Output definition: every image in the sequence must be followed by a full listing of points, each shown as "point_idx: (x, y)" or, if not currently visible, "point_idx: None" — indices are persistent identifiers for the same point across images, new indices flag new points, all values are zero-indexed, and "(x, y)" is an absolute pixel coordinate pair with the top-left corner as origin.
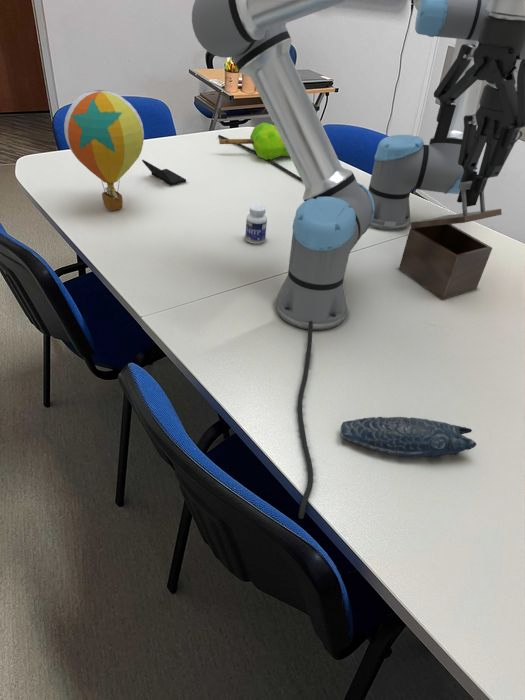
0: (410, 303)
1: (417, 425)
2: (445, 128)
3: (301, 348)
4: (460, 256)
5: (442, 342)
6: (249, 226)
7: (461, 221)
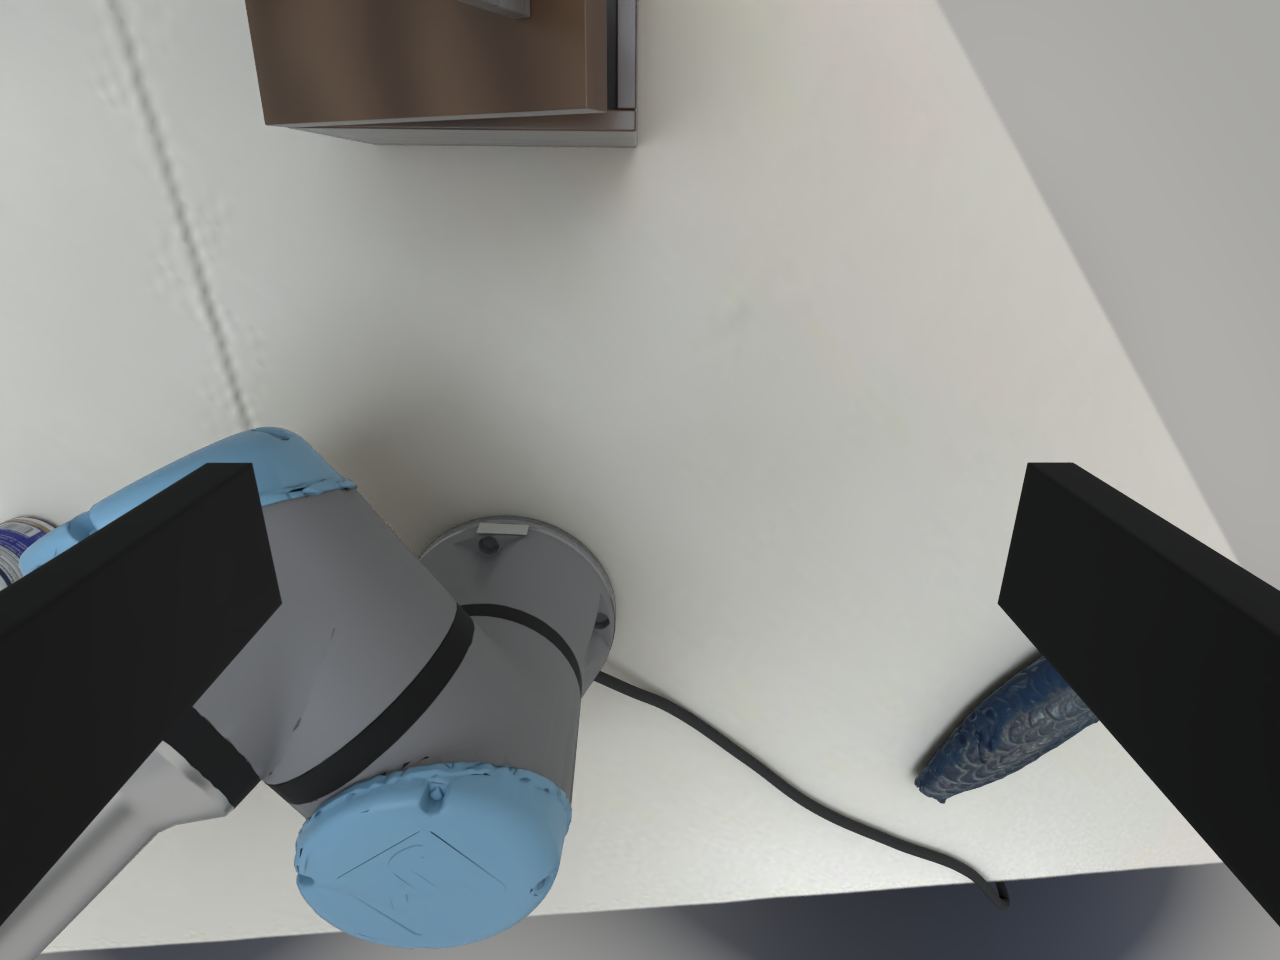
0: (605, 290)
1: (1057, 728)
2: (178, 598)
3: (652, 710)
4: (636, 101)
5: (824, 355)
6: None
7: (581, 113)
